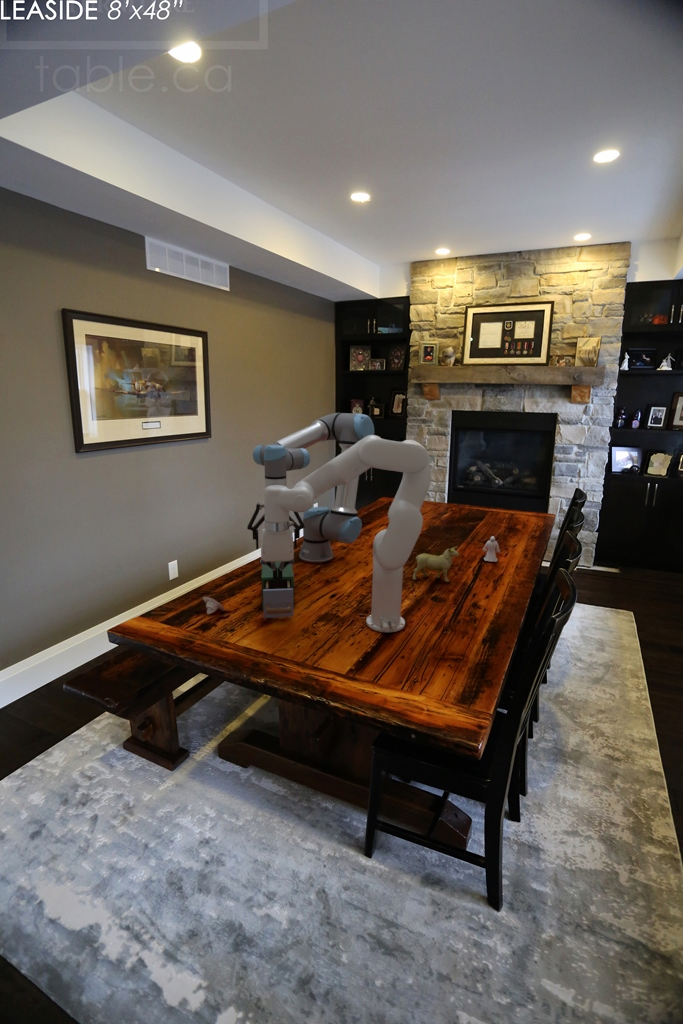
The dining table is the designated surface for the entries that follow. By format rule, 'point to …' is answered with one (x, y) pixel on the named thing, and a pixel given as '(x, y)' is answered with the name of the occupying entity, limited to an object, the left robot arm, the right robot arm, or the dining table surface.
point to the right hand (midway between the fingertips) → (277, 581)
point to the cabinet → (268, 575)
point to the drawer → (278, 599)
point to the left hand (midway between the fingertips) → (276, 547)
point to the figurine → (491, 550)
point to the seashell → (212, 605)
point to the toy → (436, 563)
